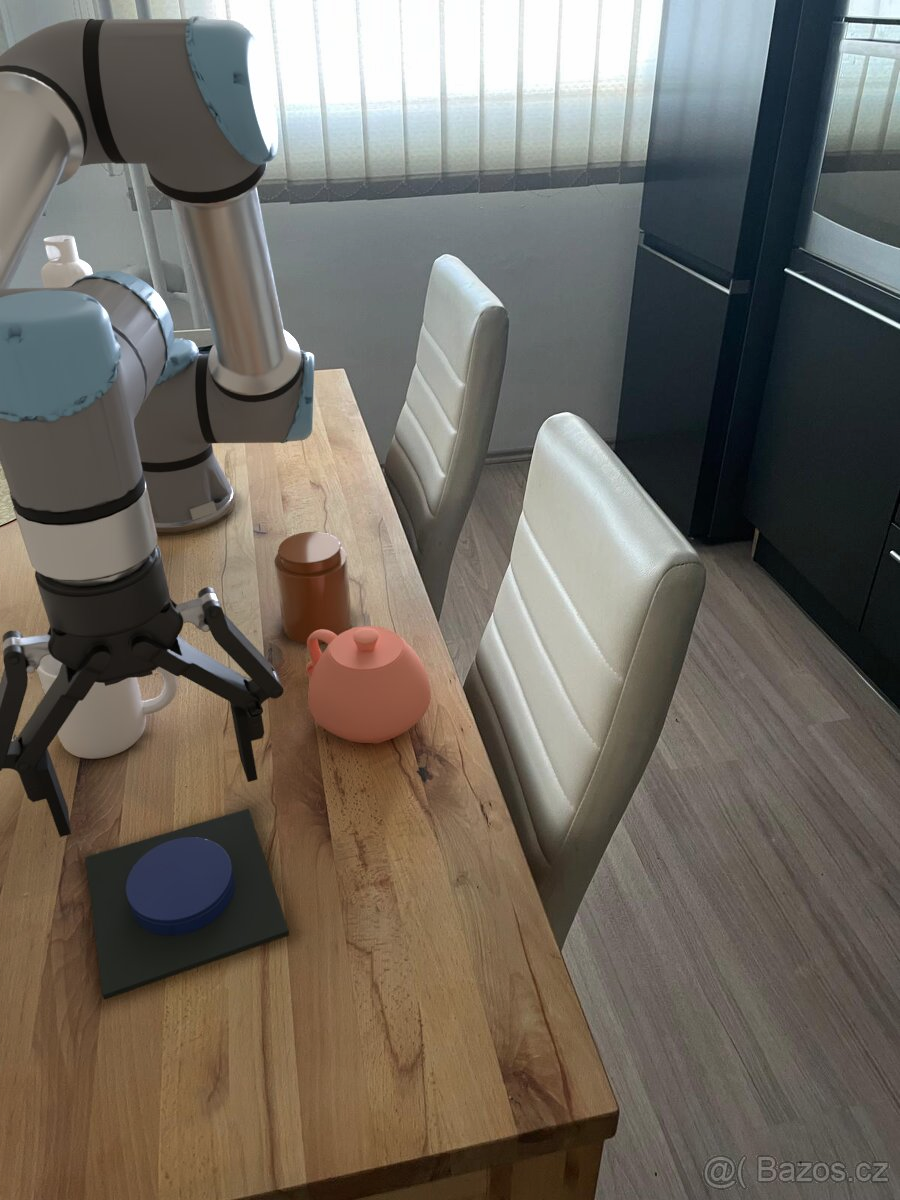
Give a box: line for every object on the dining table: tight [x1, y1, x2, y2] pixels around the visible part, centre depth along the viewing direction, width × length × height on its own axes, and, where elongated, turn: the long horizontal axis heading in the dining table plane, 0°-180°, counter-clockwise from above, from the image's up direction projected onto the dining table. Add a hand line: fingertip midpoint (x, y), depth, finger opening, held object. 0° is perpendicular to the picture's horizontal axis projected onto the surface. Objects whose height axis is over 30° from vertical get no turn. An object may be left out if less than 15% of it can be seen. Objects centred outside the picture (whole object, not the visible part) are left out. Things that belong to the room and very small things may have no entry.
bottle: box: [40, 234, 94, 288], centre depth 157 cm, size 8×8×28 cm
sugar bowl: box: [305, 625, 432, 744], centre depth 91 cm, size 12×14×10 cm
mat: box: [85, 808, 290, 1000], centre depth 75 cm, size 14×14×1 cm
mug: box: [36, 654, 179, 760], centre depth 89 cm, size 12×8×10 cm
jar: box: [274, 531, 353, 645], centre depth 104 cm, size 8×8×10 cm
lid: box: [126, 837, 235, 936], centre depth 74 cm, size 8×8×2 cm
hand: (159, 795), depth 69 cm, fingers open, 13 cm apart
